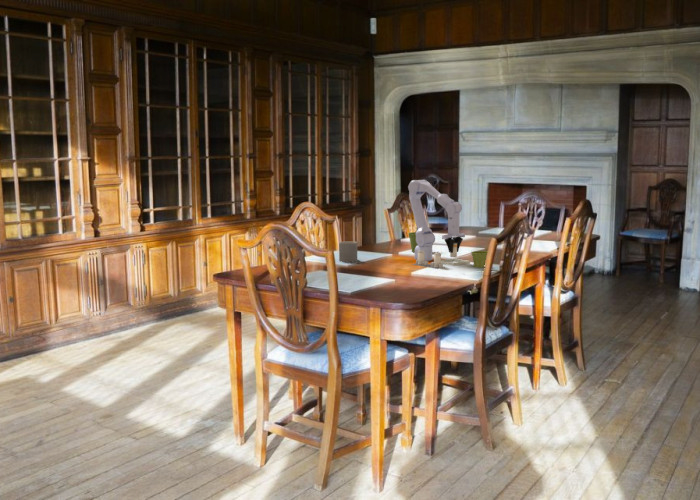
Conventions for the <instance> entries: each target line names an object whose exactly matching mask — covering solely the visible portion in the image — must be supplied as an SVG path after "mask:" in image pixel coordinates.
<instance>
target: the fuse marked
mask: <svg viewBox="0 0 700 500" xmlns="http://www.w3.org/2000/svg"><path fill="white" fill-rule="evenodd" d="M449 256H450V258H457V257H458V252H457V243H454V245H453V253H450V252H449Z"/></svg>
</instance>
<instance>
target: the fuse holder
mask: <svg viewBox="0 0 700 500" xmlns="http://www.w3.org/2000/svg"><path fill="white" fill-rule="evenodd" d="M429 263H430V264H429ZM411 265H412V266H418V267H424V268H430V269H435V270H439V269H446V268H448V267H447V266H444V264H439V268H434V261H432V262H429V261H422V265H418V260H417V259H415V263H412V264H411Z"/></svg>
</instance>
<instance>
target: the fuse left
mask: <svg viewBox="0 0 700 500" xmlns="http://www.w3.org/2000/svg"><path fill="white" fill-rule="evenodd" d="M422 261H425V251H423V250H419V251H418V265H422ZM418 265H417V266H418Z"/></svg>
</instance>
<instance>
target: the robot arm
mask: <svg viewBox="0 0 700 500" xmlns="http://www.w3.org/2000/svg"><path fill="white" fill-rule="evenodd" d="M407 188H408V191H409V192H408V193H409V194H408V195H409V196H408V199H409V202H410V207H411V209H412V213H413V217H414V221H415V224H416V227H417V230H416V231H415V232H416V233H415V234H416V242H417V244H418V246H416V248H415V252H414V260H418V251H419V250H423V251H425V261H428V262H429V261H433V246H434V243H435V242H436V235H435V234H434V233H433V230H432V229H431V228H430V227H429V226H428V222H427V219H426V215H425V213H424V208H423V205H422V200H421V198H422V196H423V195H424V194H425V193H427V194H429V195H430V196H432V197H433V198H435V199H436V202H437V204H439V205H440V206H441V207H443V209H445V211H446V213H447V234H442V236H441V239H442V240H444V242H445V244H446V246H447V250H448V253H449V254H450V253H453V245H454V243H457V253H458V252H459V250H460V247H461V244H462V242H463V240H464V238H465V237H466V233H465V232H464V233H463V232H462V233H460V213H461V212H462V210H463V209H462V204H461V203H460V202H459V201H455V200H454V199H452V198H450V197H449V195H448V194H447V193H440V192H439V190H437V189H436V188H435V187H434V186H433V185H431V183H430V182H429V181H427V180H426V179H418V180H417V179H413V180H411V181H410V182H409V184H408V186H407Z"/></svg>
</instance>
